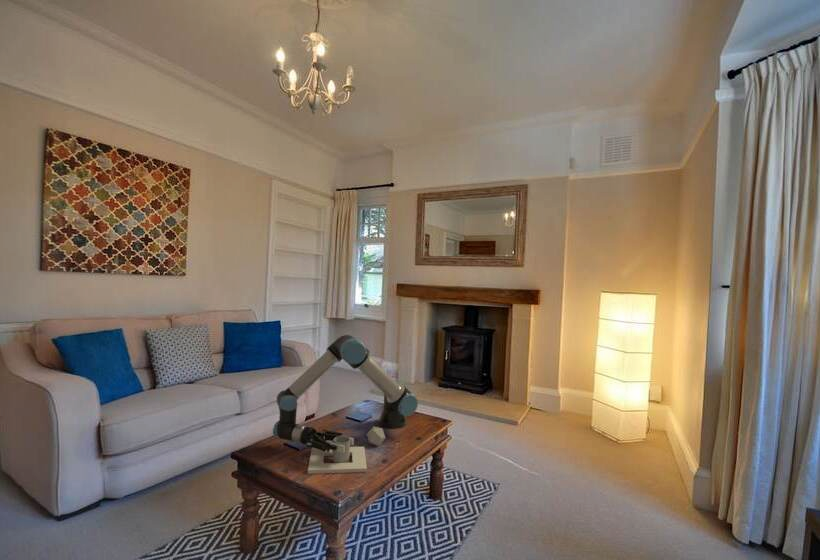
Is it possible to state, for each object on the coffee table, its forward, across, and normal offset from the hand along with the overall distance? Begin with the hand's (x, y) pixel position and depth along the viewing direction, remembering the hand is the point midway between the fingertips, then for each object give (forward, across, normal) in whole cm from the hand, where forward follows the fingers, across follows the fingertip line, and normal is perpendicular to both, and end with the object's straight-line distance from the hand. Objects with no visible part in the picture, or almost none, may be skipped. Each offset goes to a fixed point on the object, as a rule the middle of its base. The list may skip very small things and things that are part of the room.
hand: (348, 445), depth 159 cm
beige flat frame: (-5, 0, -8) cm, 9 cm away
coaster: (-22, -13, -8) cm, 27 cm away
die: (+3, -23, -8) cm, 24 cm away
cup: (-5, 0, -7) cm, 9 cm away
